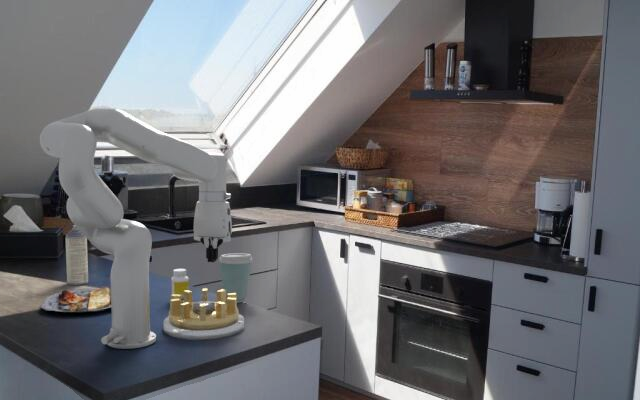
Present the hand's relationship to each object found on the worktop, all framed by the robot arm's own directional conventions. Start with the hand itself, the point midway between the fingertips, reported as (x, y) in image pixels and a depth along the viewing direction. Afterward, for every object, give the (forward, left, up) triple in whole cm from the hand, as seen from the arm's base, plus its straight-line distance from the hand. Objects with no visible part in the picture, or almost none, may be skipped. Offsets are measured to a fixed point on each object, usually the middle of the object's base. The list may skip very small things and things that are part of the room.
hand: (212, 261), depth 204 cm
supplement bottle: (+14, +19, -17) cm, 29 cm away
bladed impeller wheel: (-7, -2, -15) cm, 17 cm away
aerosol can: (+19, +63, -17) cm, 68 cm away
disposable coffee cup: (+21, +3, -17) cm, 27 cm away
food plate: (-2, +43, -18) cm, 47 cm away
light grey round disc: (-7, -2, -17) cm, 19 cm away
